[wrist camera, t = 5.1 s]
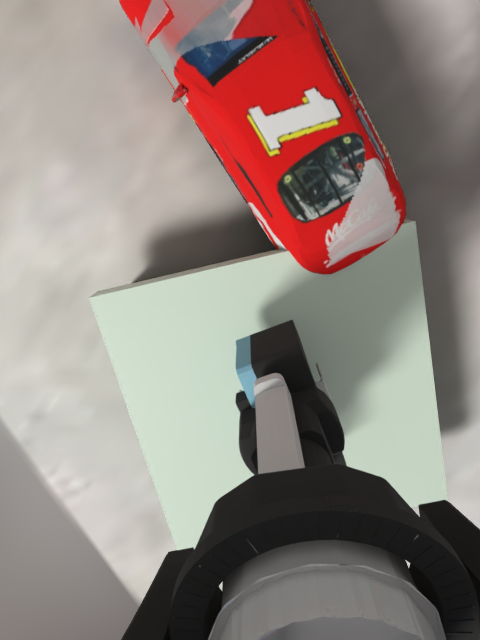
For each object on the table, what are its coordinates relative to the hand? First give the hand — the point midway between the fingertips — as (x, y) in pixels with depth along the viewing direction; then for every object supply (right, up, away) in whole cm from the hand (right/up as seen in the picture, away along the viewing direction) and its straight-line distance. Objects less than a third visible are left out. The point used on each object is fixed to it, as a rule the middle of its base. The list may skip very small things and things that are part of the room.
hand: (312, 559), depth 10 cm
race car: (-1, +14, +6) cm, 15 cm away
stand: (0, +3, +10) cm, 10 cm away
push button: (0, +3, +6) cm, 7 cm away
